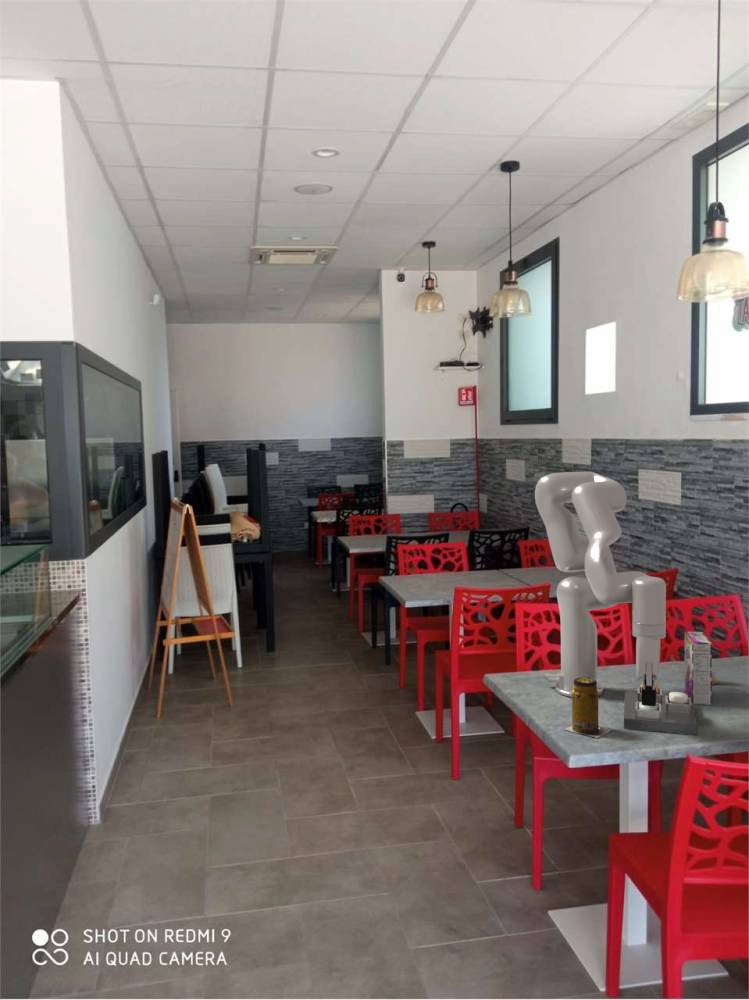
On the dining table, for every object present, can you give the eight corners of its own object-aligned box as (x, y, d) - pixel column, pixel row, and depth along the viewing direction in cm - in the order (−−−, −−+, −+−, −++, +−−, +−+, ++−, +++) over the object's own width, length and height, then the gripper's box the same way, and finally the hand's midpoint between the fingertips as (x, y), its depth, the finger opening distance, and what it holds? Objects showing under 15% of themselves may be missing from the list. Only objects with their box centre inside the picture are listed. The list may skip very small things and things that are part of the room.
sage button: (639, 714, 186) (639, 706, 185) (638, 708, 190) (638, 700, 189) (657, 716, 184) (657, 708, 184) (657, 710, 188) (657, 702, 188)
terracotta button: (640, 694, 197) (640, 686, 197) (640, 689, 201) (640, 681, 201) (658, 695, 195) (658, 688, 195) (658, 690, 199) (658, 683, 199)
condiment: (579, 721, 190) (579, 673, 189) (612, 730, 185) (612, 680, 184) (564, 730, 185) (564, 680, 184) (597, 739, 179) (597, 688, 178)
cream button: (669, 704, 189) (669, 696, 189) (668, 699, 193) (668, 691, 193) (688, 706, 188) (688, 698, 188) (687, 700, 192) (687, 692, 191)
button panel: (623, 728, 185) (623, 710, 185) (625, 700, 204) (625, 683, 204) (696, 735, 180) (696, 716, 180) (690, 706, 199) (691, 688, 199)
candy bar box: (683, 690, 211) (683, 631, 210) (703, 691, 210) (703, 631, 209) (691, 704, 200) (691, 641, 199) (712, 705, 199) (712, 642, 198)
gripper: (632, 621, 193) (632, 693, 195) (632, 636, 179) (632, 714, 181) (664, 622, 191) (664, 696, 193) (666, 638, 177) (666, 717, 178)
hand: (648, 704), depth 187 cm, fingers closed
